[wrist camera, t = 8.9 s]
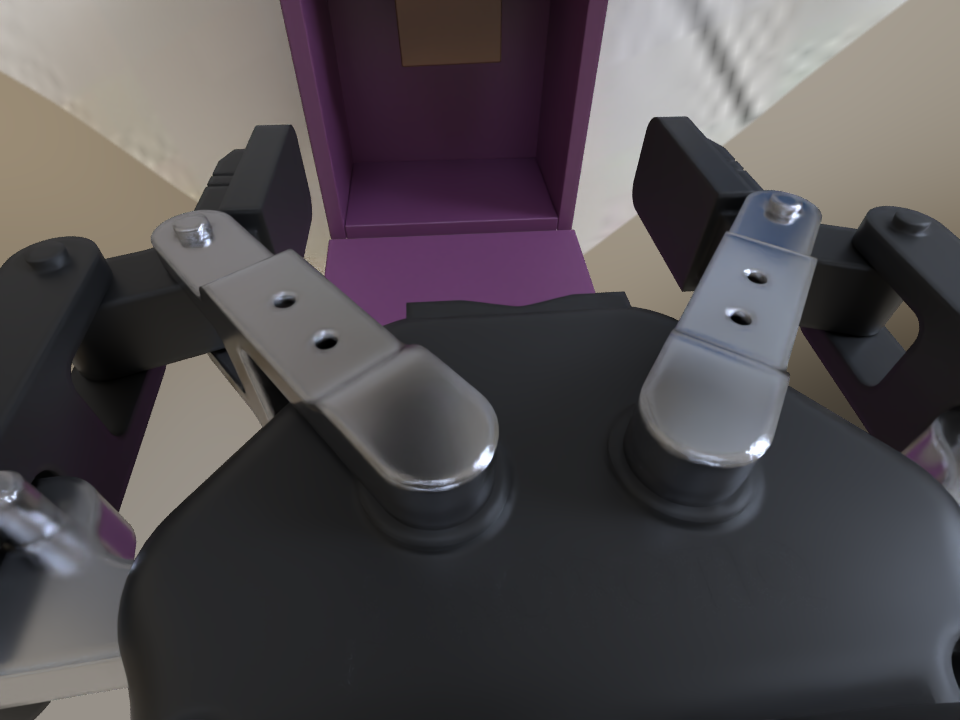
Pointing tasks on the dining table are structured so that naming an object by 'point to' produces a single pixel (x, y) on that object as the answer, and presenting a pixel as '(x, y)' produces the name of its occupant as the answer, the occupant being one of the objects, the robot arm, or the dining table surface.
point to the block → (449, 31)
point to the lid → (457, 269)
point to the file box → (445, 120)
